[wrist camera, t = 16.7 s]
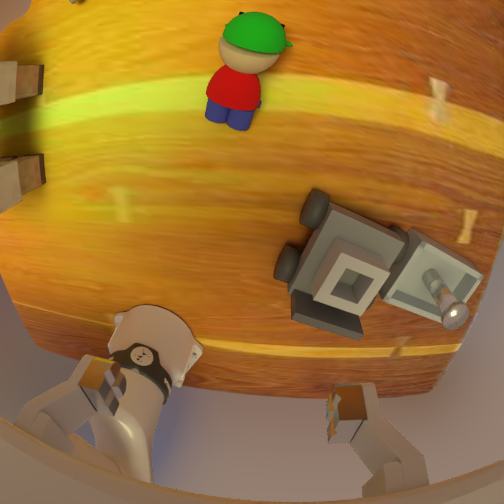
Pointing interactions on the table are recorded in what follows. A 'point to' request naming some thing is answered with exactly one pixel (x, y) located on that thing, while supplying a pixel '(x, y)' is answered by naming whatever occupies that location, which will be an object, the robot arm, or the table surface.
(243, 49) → the toy
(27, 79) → the toy
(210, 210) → the table surface
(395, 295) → the tray
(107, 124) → the table surface
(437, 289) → the pin
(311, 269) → the trolley
